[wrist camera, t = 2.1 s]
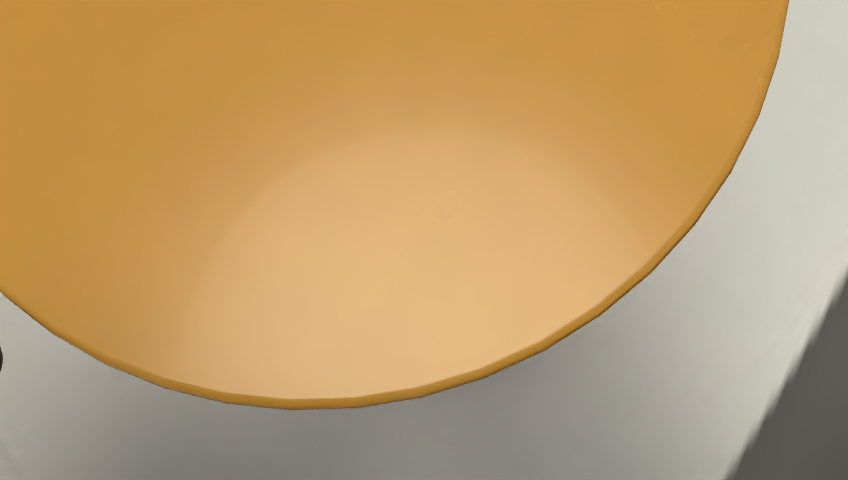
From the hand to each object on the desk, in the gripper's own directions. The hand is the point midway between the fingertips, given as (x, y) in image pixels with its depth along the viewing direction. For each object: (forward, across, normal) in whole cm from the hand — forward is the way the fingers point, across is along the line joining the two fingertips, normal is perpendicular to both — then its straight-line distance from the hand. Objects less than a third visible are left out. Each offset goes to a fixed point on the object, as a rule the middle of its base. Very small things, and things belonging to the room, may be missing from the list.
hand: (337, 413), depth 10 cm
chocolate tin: (+10, 0, +5) cm, 11 cm away
